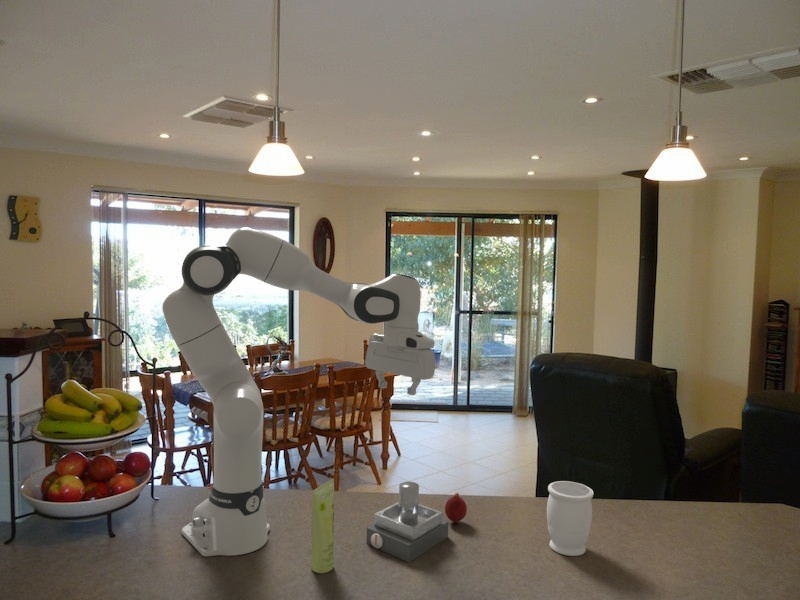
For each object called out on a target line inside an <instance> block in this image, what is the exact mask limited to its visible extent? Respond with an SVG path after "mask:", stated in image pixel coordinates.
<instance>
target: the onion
mask: <svg viewBox="0 0 800 600" xmlns="http://www.w3.org/2000/svg"><path fill="white" fill-rule="evenodd" d="M467 508H468V506H467V504H466V501H465V500H464V499H463V498H462V497H461V496H460V494H459V493H458V492H455V493H454V495H453V496H451V497H450V498H448V499H447V501H446V503H445V505H444V513H445V514H446V517H447V518H448V519H449V520H450V521H451V522H452V523H455V524H456V523H458V522H460V521H462V520H463V519H464V518H465V517H466V516H467V512H468V511H467V510H468V509H467Z"/></svg>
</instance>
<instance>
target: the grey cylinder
mask: <svg viewBox="0 0 800 600" xmlns="http://www.w3.org/2000/svg"><path fill="white" fill-rule="evenodd" d="M398 485H399V487H398V502H399V515H398V521H399V522H401V523H404V524H406V525H415V524H417V522H418V504H419V500H420V499H419V497H420V496H419V494H420V484H418V483H417V482H415V481H403V482H401V483H399V484H398Z"/></svg>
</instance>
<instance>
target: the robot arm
mask: <svg viewBox="0 0 800 600" xmlns="http://www.w3.org/2000/svg"><path fill="white" fill-rule="evenodd" d="M239 275H244V276H245V275H246V276H250V277H252V278H253V279H254V278H255V279H257V280H259V281H261V282H264V283H266V284H268V285H270V286H274V287H276V288H279V289H284V290H288V291H302V292H308V293H311V294H314V295H316V296H318V297H320V298H323V299H325V300H327V301H329V302H332V303H333V304H335V305H337V306H338V307H340V309H341V310H342V311H343V312H344V314H345V315H346V316H347V317H348V318H350V319H352V320H354V321H358V322H361V323H365V324H366V325H367V324H368V325H373V324H379V323H384V326H383V334H378V333H374V334H372V335H371V336H370V337H369V338H368V346H367V349H366V354H365V360H364V364H365V366H366V368H367V369H370V370H375V376H376V378H377V381H378V389H382V390H384V389H387V387H388V381H386V379H385V376H384V375H385V374H386V373H390V374H393V375H399V376H403V377H408V378H411V382H412V383H411V385H410V387H407V388H406V389H407V392H406V394H407V395H410V396H415V395H416V394H417V388H418V387H419V386H420V383H421V382H422V380H430V379H433V377H434V375H435V369H436V356H435V352H434V350H433V349H434V347H435V341H434V339H433V338H430V337H429V336H427V335H425V334H423V333H422V332H420V331H419V330H420V328H419V327H420V325H419V315H420V311H421V297H422V296H421V284H420V282H419V281H418V280H417V278H415V277H413V276H410V275H406V274H403V273H396V272H395V273H391V274H390V275H389V276H387V277H385V278H383V279H382V280H381V279H380V280H379V281H377V282H373V283H370V284H367V283H363V282H353V283H352V282H347V281H344V280H342V279H341V278H338V277H336V276H333V275H332V274H330V273H327V272H326V271H324V270H322V269H320V268H319V267H317V266H316V265H315V263H313V261H312V260H311V258H310V256H309V255H308V254H307V253H306V252H304V251H303V250H302V249H300V248H299V247H297V246H296V245H294V244H293V243H291V242H289V241H286V240H284V239H282V238H280V237H277V236H275V235H273V234H270V233H267V232H265V231H261V230H258V229H255V228H252V227H247V226H244V227H241V228H238V229H236V230H235V231H234V232H233V233H232V234H231V235H230V237H229V238H228V241H227V242H226V243H225V244H224V245H214V246H212V245H201V246H197V247H195V248H193V249H191V251H189V252H188V253H187V254H186V255H185V257H184V260H183V263H182V266H181V276H182V279H183V283H182V286H181V287H180V288H178V289H176V290H174V291H172V292H171V293H170V294H168V296H167V297H166V298H165V299H164V301H163V303H162V313H163V317H164V319H165V321H166V325H167V327H168V330H169V332H170V335H171V336H172V339H173V341H174V343H175V345H176V346H177V348H178V350H179V351H180V354H181V355H182V357H183V358H184V360H185V362H186V364H187V366H188V368H189V370H190V372H191V373H192V375H193V377H195V378H196V379H197V381H198V383H199V384H200V386H201V388H203V390H204V391H205V393H206V394H207V396H208V397H209V399H210V401H211V403H212V405H213V483H209V484H207V486H208V487H207V490H210V493H209V496H208V498H206V499H205V500H204V501H202V502H201V503H199V504H198V505H197V506H195V508H194V509H193V511H192V515H191V522H189V523H188V524H186V525H185V526H183V527H182V529H181V535H183V537H184V538H186V540H187V541H188V542H189V543H190V544H191V545H192V546H193V548H195V550H197V552H198V553H200V555H201V556H202V557H213V556H238V555H239V556H240V555H244V554H249V553H252V552H254V551H257V550H259V549H260V548H262V547H263V546H264V545H265V544H266V543H267V542H268V540H269V539H268V538H269V537H268V533H269V531H270V530H271V527H270V523H269V522H267V519H268V518H267V512H266V511H267V509H266V501H265V498H264V481H263V480H262V469H263V468H262V466H263V465H262V463H263V462H262V461H263V460H262V458H263V457H262V456H263V452H262V451H263V436H264V435H263V433H264V416H265V415H264V410H265V409H264V403H263V401H262V396H261V391H260V389H259V387H258V385H257V383H256V382H255V379H254V378H253V376H252V374H251V373H250V370H249V369H248V368H247V365H246V364H245V362H244V360H243V359H242V357H241V356H240V354H239V352H238V350H237V349H236V347H235V345H234V343H233V342H232V340H231V337H230V336H229V334H228V332H227V329H225V328H226V327H225V326H224V325H223V323H222V320H221V319H220V317H219V315H218V314H217V311H216V309H215V305H214V303H213V302H214V301H213V300H214V296H215V295H218V294H220V293H221V292H223V291H225V289H227V288H228V287H229V285H231V283H232V282H233V281H234V280H235V279H236V278H237V277H238V276H239Z"/></svg>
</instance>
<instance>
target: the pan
mask: <svg viewBox="0 0 800 600" xmlns="http://www.w3.org/2000/svg"><path fill="white" fill-rule="evenodd" d="M443 512H444V511H440V510H438V509H437V510H436V509H434V508H431V507H429V506H426V505H423V504H420V503H418V522H417V524H415V525H406V524H404V523H401V522H399V521H398V515H399V501H397V502H395V503H392V504H391V505H389V506H387V507H385V508H383V509H381V510H379V511H377V512H375V513H374V514H373V515H374V517H373V524H374V525H375V526H378V527H380V528H383V529H385V530H387V531H390V532H392V533H395V534H397V535H400V536H402V537H404V538H407V539H409V540H412V541H414V540H415V539H417V538H419V537H420V536H422V535H424V534H425V533H427V532H429V531H430V530H432V529H434V528H435V527H437V526H439V525H440V524H442V520H443V517H444V516H443Z"/></svg>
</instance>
